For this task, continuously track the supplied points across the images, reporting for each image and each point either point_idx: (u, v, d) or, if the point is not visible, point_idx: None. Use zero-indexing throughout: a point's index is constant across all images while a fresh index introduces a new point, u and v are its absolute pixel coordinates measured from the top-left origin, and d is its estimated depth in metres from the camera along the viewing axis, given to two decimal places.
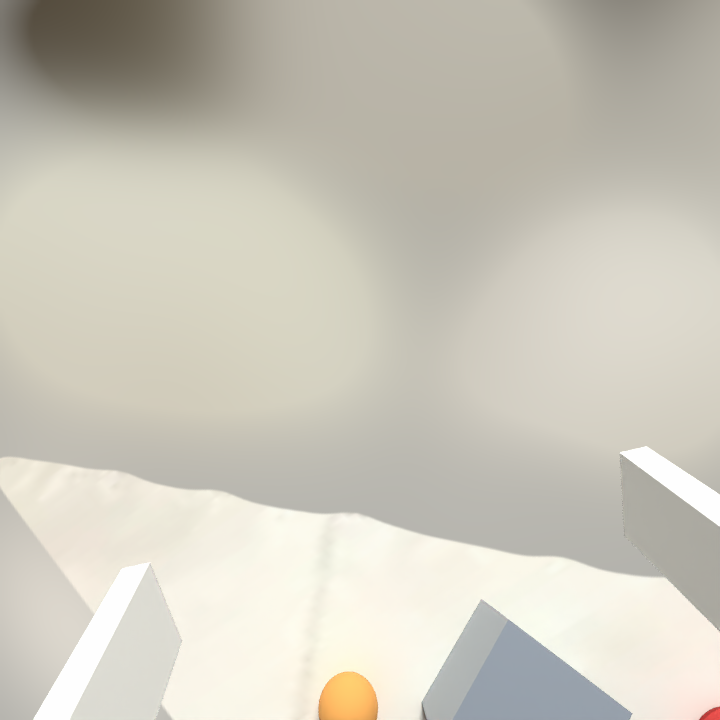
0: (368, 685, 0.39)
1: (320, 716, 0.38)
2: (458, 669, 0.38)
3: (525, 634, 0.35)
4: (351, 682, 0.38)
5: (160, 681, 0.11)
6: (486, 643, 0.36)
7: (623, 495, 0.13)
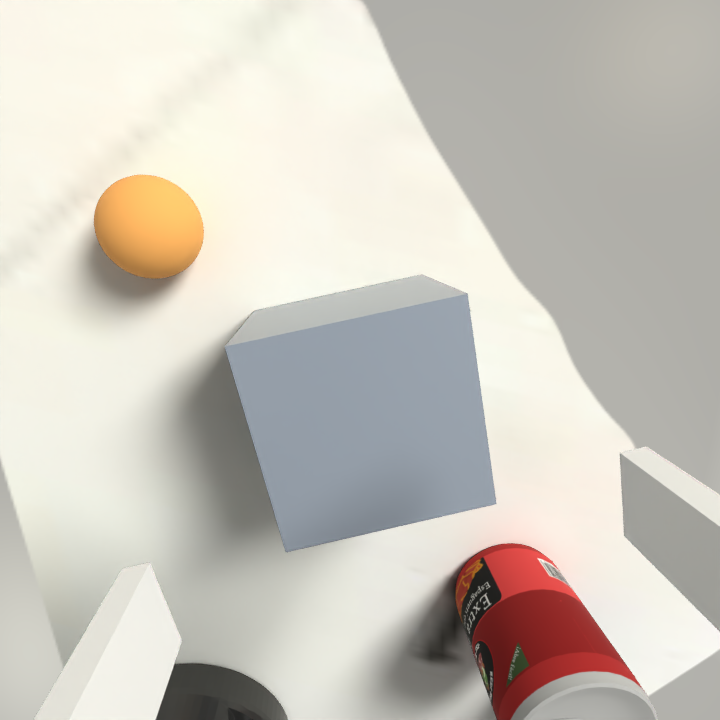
0: (198, 225, 0.23)
1: (99, 199, 0.22)
2: (332, 305, 0.23)
3: (469, 330, 0.19)
4: (176, 198, 0.22)
5: (160, 681, 0.11)
6: (402, 300, 0.21)
7: (623, 495, 0.13)
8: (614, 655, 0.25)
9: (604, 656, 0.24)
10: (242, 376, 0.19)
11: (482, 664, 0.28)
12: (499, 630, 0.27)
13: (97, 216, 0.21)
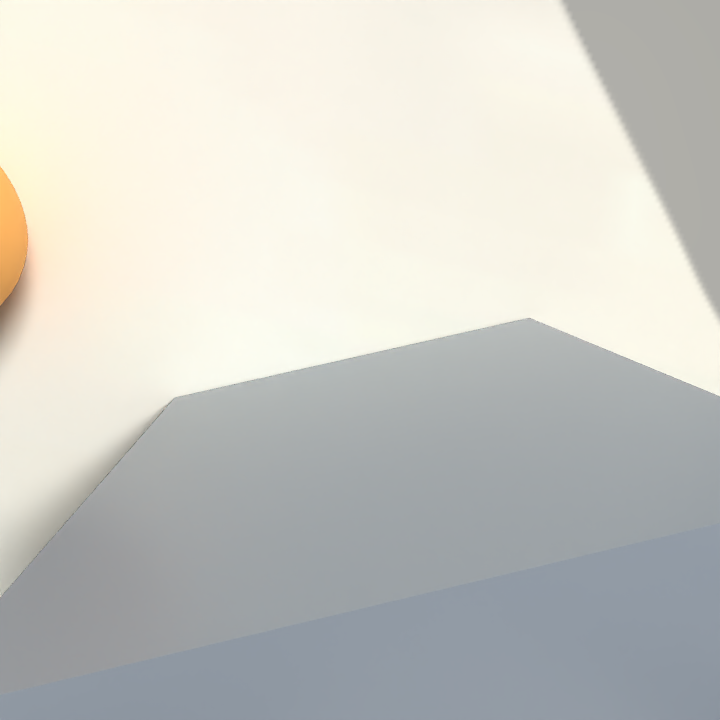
0: None
1: None
2: (344, 423, 0.09)
3: None
4: None
5: None
6: (587, 456, 0.06)
7: None
8: None
9: None
10: None
11: None
12: None
13: None
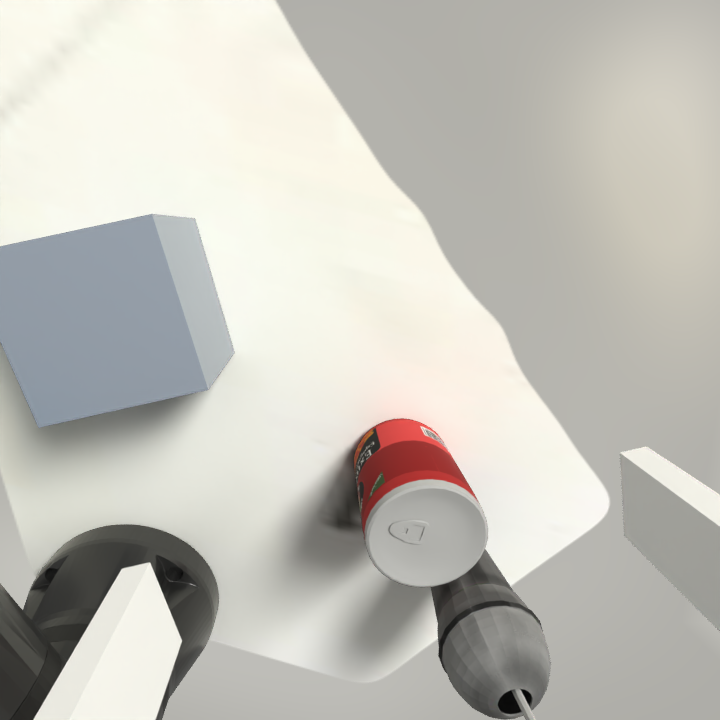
0: None
1: None
2: None
3: (159, 243, 0.25)
4: None
5: (159, 681, 0.11)
6: None
7: (623, 496, 0.13)
8: (457, 477, 0.30)
9: (446, 474, 0.30)
10: None
11: (359, 498, 0.33)
12: (372, 468, 0.33)
13: None
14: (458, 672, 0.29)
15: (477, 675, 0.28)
